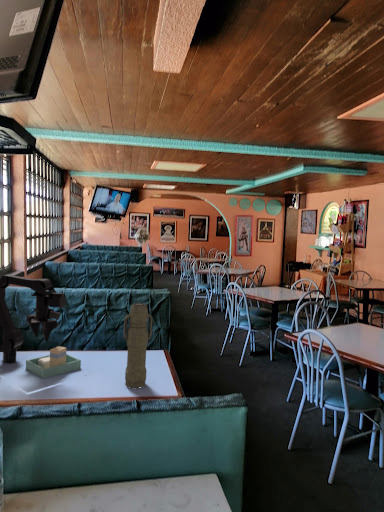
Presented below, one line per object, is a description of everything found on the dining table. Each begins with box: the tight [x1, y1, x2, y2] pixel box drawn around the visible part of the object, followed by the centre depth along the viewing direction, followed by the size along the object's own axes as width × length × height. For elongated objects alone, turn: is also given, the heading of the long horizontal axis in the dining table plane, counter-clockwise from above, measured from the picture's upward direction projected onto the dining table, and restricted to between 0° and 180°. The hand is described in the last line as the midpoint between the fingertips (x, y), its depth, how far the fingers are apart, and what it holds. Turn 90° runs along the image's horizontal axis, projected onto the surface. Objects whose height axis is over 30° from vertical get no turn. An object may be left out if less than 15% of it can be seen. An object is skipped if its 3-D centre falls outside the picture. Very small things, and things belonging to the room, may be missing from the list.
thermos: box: [123, 302, 153, 389], centre depth 153 cm, size 9×12×35 cm
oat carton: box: [49, 345, 67, 368], centre depth 163 cm, size 4×6×10 cm
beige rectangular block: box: [38, 357, 50, 369], centre depth 168 cm, size 6×8×3 cm
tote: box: [25, 353, 82, 379], centre depth 166 cm, size 16×18×4 cm
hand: (41, 339), depth 169 cm, fingers open, 9 cm apart
